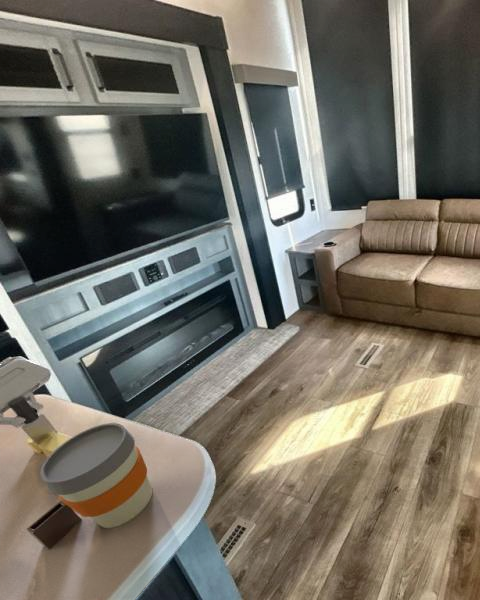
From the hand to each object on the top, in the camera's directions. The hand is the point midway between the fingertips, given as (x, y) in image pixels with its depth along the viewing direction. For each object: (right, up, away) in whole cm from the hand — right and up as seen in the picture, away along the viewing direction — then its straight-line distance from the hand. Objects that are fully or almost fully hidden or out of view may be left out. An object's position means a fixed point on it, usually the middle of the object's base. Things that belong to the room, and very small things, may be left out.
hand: (31, 416), depth 80 cm
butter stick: (+5, -9, +3) cm, 11 cm away
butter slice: (-2, -8, +5) cm, 10 cm away
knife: (0, -6, +3) cm, 7 cm away
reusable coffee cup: (+29, -13, -11) cm, 33 cm away
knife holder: (+20, -16, -14) cm, 30 cm away
